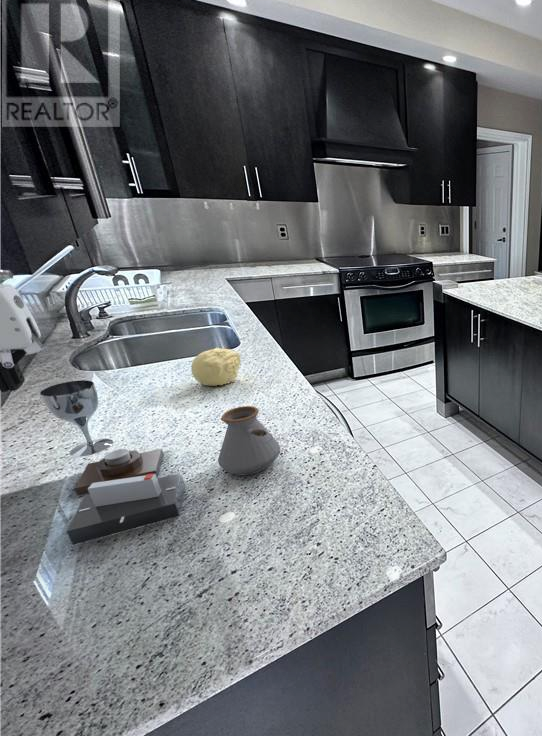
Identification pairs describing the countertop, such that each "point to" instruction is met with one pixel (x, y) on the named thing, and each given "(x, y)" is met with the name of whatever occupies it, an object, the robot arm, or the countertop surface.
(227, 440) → the coffee pot
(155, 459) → the switch block
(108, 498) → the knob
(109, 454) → the button
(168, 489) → the dark grey flat block
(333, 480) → the countertop surface
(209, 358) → the pale yellow lumpy ball
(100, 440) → the wine glass
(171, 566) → the countertop surface
